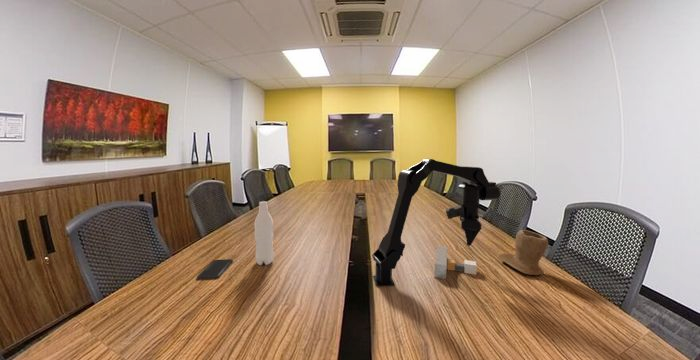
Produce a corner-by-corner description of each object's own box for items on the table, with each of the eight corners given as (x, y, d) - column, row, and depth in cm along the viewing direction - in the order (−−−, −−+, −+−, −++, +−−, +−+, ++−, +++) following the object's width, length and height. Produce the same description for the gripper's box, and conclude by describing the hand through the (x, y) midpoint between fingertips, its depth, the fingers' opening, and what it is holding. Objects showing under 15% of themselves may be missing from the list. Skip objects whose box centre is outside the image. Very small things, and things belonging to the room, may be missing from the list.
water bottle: (268, 267, 101) (266, 204, 98) (251, 265, 102) (249, 203, 99) (277, 260, 108) (275, 200, 105) (261, 258, 109) (259, 200, 106)
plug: (447, 270, 99) (447, 261, 99) (447, 265, 103) (447, 257, 103) (476, 274, 96) (476, 265, 96) (475, 270, 100) (475, 261, 99)
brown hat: (553, 277, 95) (557, 237, 93) (523, 278, 94) (526, 237, 92) (523, 260, 110) (525, 225, 108) (496, 260, 109) (498, 225, 107)
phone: (233, 259, 106) (218, 276, 91) (233, 261, 106) (218, 279, 92) (213, 259, 106) (195, 277, 91) (213, 262, 106) (195, 280, 91)
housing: (434, 277, 94) (434, 263, 93) (436, 256, 112) (437, 245, 112) (446, 279, 92) (446, 265, 92) (446, 258, 111) (446, 246, 110)
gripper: (447, 195, 108) (445, 232, 109) (447, 203, 90) (444, 246, 92) (477, 197, 104) (474, 235, 105) (483, 206, 86) (479, 251, 88)
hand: (467, 241), depth 98 cm, fingers open, 9 cm apart
